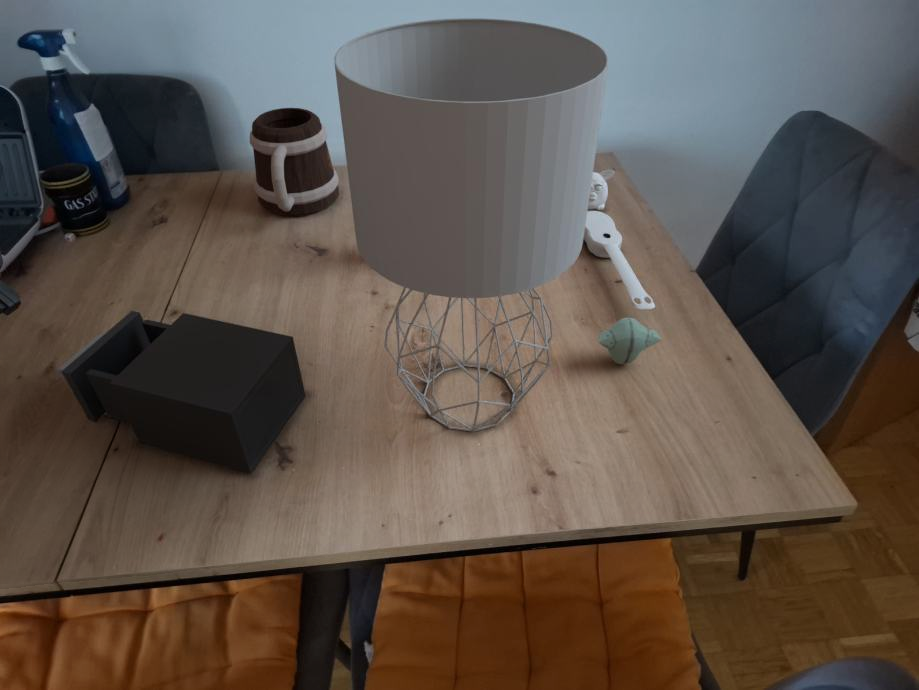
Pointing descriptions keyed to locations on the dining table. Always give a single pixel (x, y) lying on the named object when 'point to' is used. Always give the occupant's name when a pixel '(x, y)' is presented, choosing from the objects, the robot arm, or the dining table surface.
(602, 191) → the figurine
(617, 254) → the white toy ukulele
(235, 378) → the cabinet
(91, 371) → the drawer
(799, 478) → the dining table surface
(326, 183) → the mug
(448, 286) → the table lamp
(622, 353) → the green spinning top
